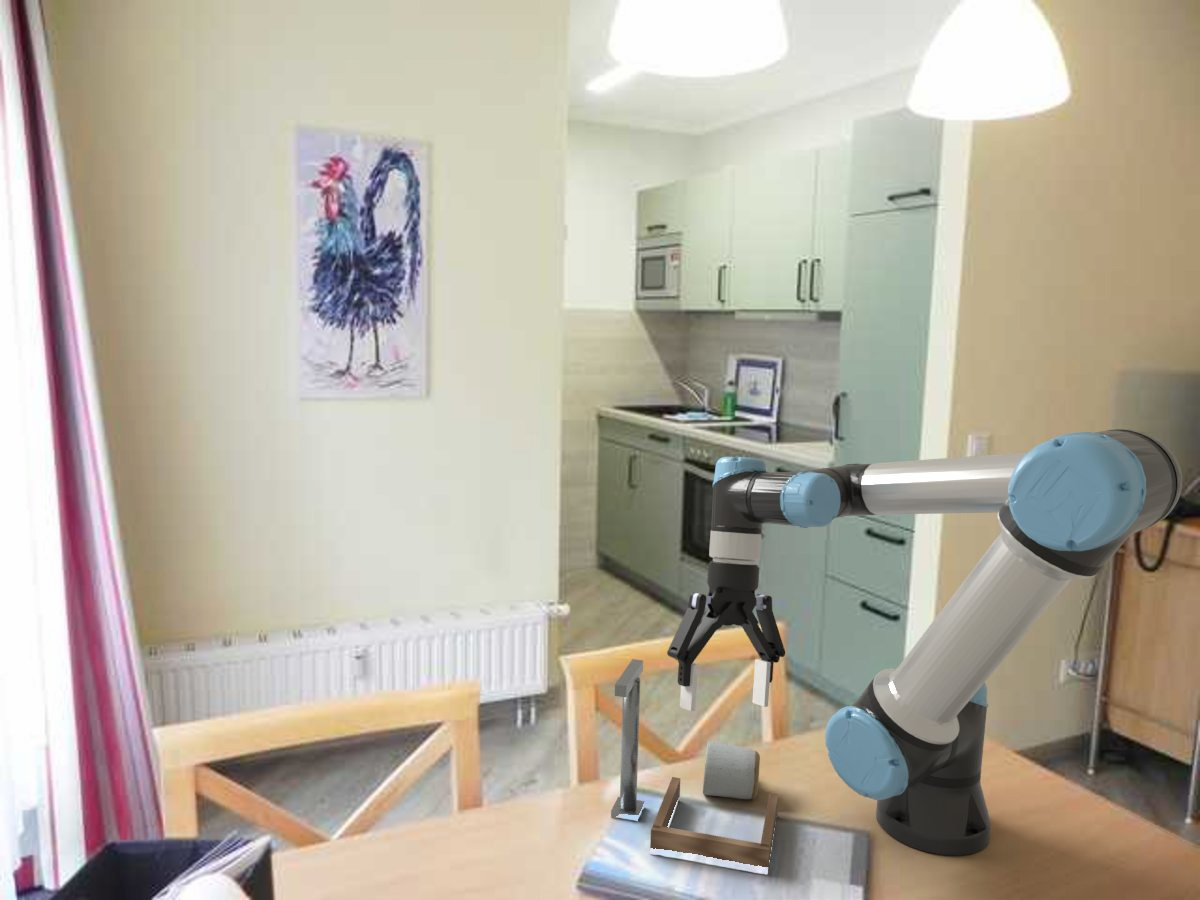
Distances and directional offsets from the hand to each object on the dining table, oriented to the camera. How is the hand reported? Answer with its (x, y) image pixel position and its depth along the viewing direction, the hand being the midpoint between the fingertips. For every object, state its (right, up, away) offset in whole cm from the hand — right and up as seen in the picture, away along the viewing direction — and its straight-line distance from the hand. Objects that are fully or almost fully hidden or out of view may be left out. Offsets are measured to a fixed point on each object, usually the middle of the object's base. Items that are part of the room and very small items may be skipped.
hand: (724, 707), depth 129 cm
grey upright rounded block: (+1, -14, +5) cm, 15 cm away
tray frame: (-2, -15, -7) cm, 17 cm away
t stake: (-15, -15, -4) cm, 21 cm away
